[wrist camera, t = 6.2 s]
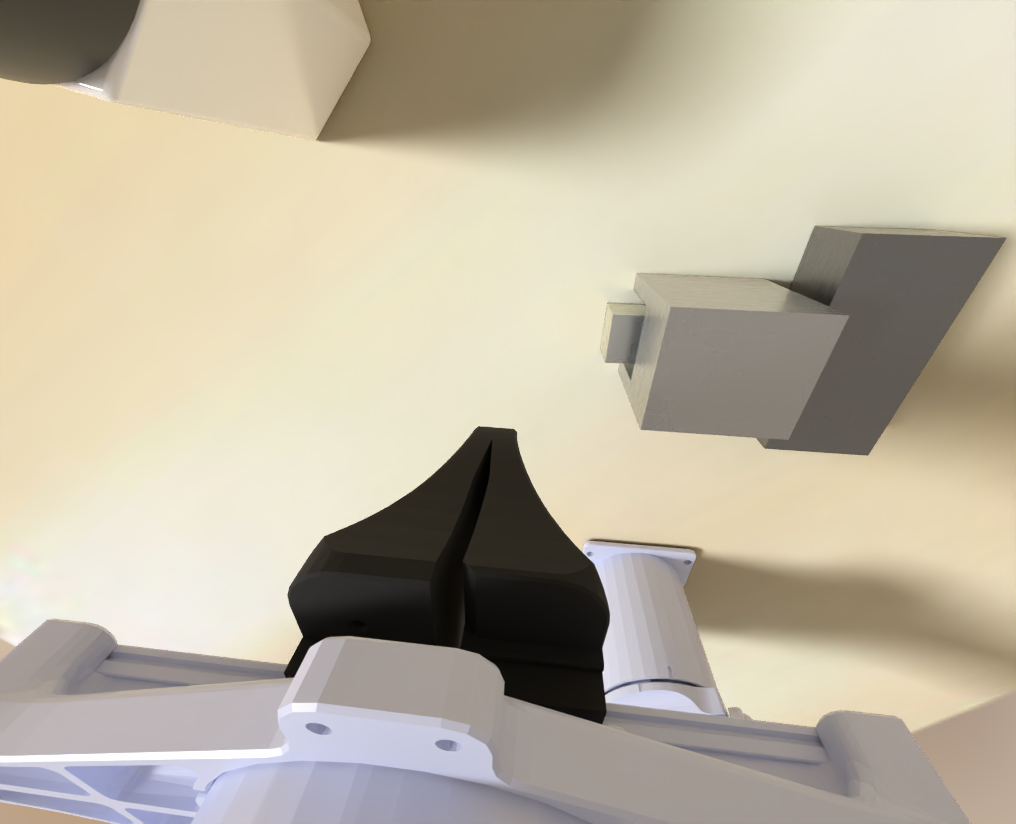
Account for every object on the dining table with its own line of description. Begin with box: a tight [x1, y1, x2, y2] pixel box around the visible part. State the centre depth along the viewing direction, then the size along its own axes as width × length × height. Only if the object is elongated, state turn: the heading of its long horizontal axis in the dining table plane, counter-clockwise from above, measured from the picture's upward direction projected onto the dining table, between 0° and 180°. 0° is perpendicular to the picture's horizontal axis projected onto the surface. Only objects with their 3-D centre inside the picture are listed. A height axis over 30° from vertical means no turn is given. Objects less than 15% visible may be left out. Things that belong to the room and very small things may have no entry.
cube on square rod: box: [618, 273, 850, 440], centre depth 17 cm, size 5×6×6 cm
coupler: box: [600, 226, 1006, 455], centre depth 18 cm, size 10×14×3 cm
